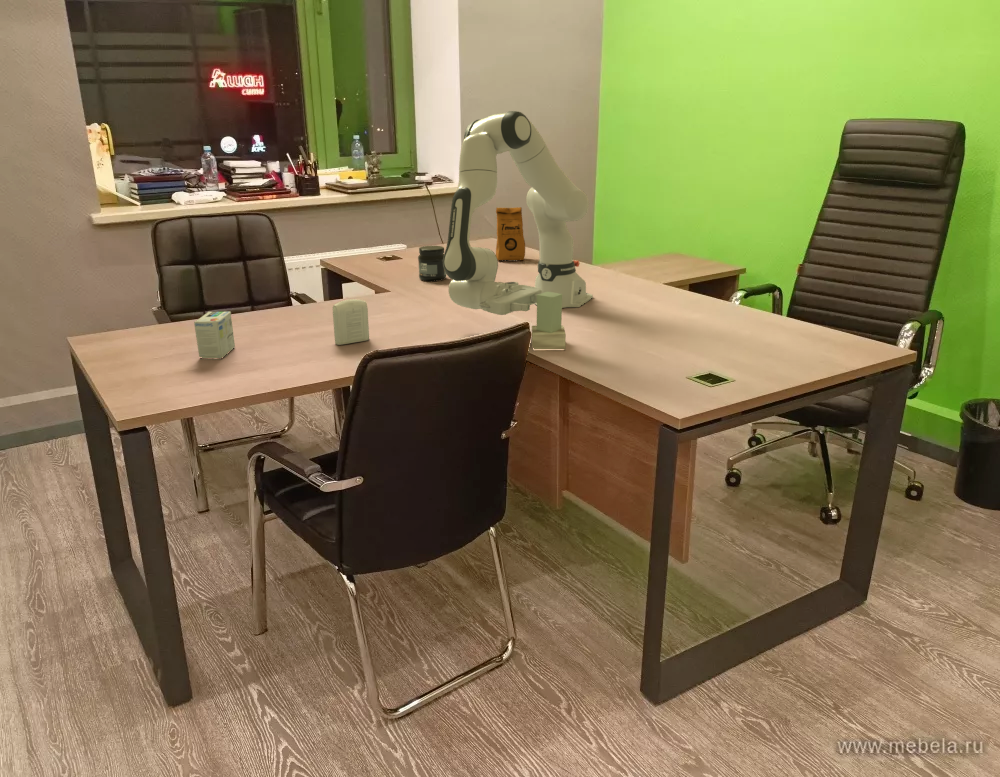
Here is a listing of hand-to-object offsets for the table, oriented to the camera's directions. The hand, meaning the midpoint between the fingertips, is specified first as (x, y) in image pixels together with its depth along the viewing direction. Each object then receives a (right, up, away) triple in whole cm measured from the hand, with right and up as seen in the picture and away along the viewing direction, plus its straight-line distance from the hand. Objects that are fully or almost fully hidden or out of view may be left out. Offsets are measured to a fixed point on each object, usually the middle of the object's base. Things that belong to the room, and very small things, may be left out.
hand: (537, 304), depth 227 cm
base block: (+3, -12, +2) cm, 12 cm away
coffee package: (-6, +31, +117) cm, 121 cm away
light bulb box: (-89, -14, -2) cm, 90 cm away
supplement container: (-36, +18, +84) cm, 93 cm away
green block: (+3, -7, 0) cm, 8 cm away
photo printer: (-53, -10, +8) cm, 55 cm away
